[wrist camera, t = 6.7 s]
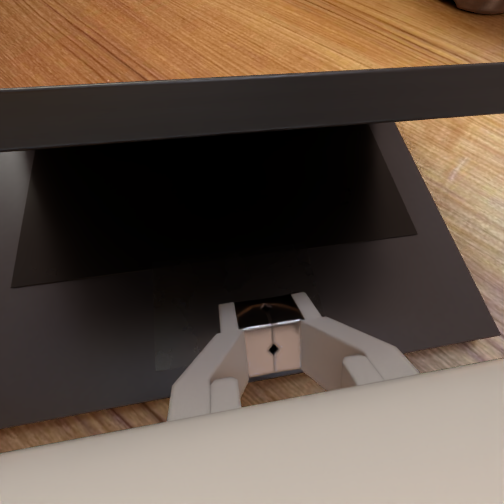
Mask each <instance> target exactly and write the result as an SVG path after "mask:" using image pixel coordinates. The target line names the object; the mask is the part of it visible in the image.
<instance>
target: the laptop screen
mask: <svg viewBox="0 0 504 504" xmlns="http://www.w3.org/2000/svg"><path fill="white" fill-rule="evenodd" d="M503 113H504V62H498V63H479V64H460V65H441V66H422V67H402V68H383V69H364V70H345V71H326V72H307V73H288V74H269V75H250V76H231V77H212V78H193V79H173V80H154V81H135V82H116V83H97V84H78V85H59V86H40V87H21V88H2V89H0V153H1V152H14V151H27V150H40V149H52V148H65V147H78V146H91V145H104V144H117V143H130V142H142V141H155V140H168V139H181V138H194V137H207V136H220V135H233V134H245V133H258V132H271V131H284V130H297V129H310V128H323V127H335V126H348V125H361V124H374V123H387V122H400V121H413V120H425V119H438V118H451V117H464V116H477V115H490V114H503Z"/></svg>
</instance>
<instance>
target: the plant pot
mask: <svg viewBox="0 0 504 504" xmlns="http://www.w3.org/2000/svg"><path fill="white" fill-rule="evenodd" d="M454 1H455V3H456V6H457V8H460V9H463V10H467V11H471V12H475V13H478V14H498V13H504V0H454Z"/></svg>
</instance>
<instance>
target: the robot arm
mask: <svg viewBox="0 0 504 504" xmlns="http://www.w3.org/2000/svg"><path fill="white" fill-rule="evenodd" d="M219 319H220V332H221V333H218V334H216V335H215V336H214V337H213V338H212V339H211V341H210V342H209V343H208V344H207V345H206V346H205V348H204V349H203V350H202V351H201V352H200V353H199V355H198V356H197V357H196V358H195V359H194V360H193V362H192V363H191V364H190V365H189V366H188V367H187V369H186V370H185V371H184V372H183V373H182V375H181V376H180V377H179V378H178V379H177V380H176V382H175V383H174V384H173V385H172V389H171V396H170V403H169V409H168V416H167V422H162V423H157V424H152V425H146V426H141V427H136V428H130V429H125V430H120V431H115V432H109V433H104V434H99V435H93V436H88V437H83V438H78V439H72V440H67V441H62V442H56V443H51V444H46V445H41V446H35V447H30V448H25V449H19V450H14V451H9V452H4V453H0V504H504V358H499V359H494V360H489V361H484V362H479V363H473V364H468V365H463V366H458V367H452V368H447V369H442V370H436V371H431V372H426V373H420V372H419V371H418V370H417V369H416V368H415V366H414V365H413V364H412V363H411V362H410V361H409V360H408V359H407V358H406V357H405V356H404V355H403V354H402V353H401V351H400V350H399V349H398V348H397V347H395V346H393V345H391V344H388V343H386V342H384V341H382V340H379V339H377V338H375V337H372V336H370V335H368V334H365V333H363V332H361V331H359V330H356V329H354V328H352V327H349V326H347V325H345V324H342V323H340V322H338V321H336V320H333V319H331V318H329V317H322V316H321V315H320V313H319V312H318V310H317V309H316V307H315V306H314V304H313V303H312V302H311V300H310V299H309V297H308V296H307V294H306V293H305V292H299V293H294V294H288V295H282V296H276V297H271V298H265V299H255V300H247V301H239V302H234V303H233V302H230V303H224V304H219ZM296 369H301V370H302V371H303V372H304V373H305V374H307V375H308V376H309V377H310V378H312V379H313V380H314V381H315V382H316V383H318V384H319V385H320V386H321V387H323V388H324V389H325V390H326V392H320V393H315V394H310V395H305V396H300V397H294V398H289V399H284V400H278V401H273V402H268V403H263V404H257V405H252V406H247V407H241V400H240V399H241V397H242V394H243V392H244V390H245V388H246V385H247V383H248V381H249V378H252V377H256V376H261V375H266V374H271V373H276V372H283V371H290V370H296Z"/></svg>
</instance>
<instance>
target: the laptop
mask: <svg viewBox="0 0 504 504" xmlns="http://www.w3.org/2000/svg"><path fill="white" fill-rule="evenodd" d="M299 292H305V293H306V294H307V296H308V297H309V299H310V300H311V302H312V303H313V304H314V306H315V307H316V309H317V310H318V312H319V313H320V315H321V316H322V317H329V318H331V319H333V320H336V321H338V322H340V323H342V324H345V325H347V326H349V327H352V328H354V329H356V330H359V331H361V332H363V333H365V334H368V335H370V336H372V337H375V338H377V339H379V340H382V341H384V342H386V343H388V344H391V345H393V346H395V347H397V348H398V349H399V350H400V351H401V353H402V354H404V353H409V352H415V351H420V350H426V349H431V348H436V347H442V346H447V345H452V344H458V343H463V342H468V341H474V340H479V339H484V338H490V337H495V336H500V335H501V334H500V332H499V330H498V328H497V326H496V324H495V322H494V320H493V318H492V316H491V314H490V312H489V310H488V308H487V306H486V304H485V302H484V300H483V298H482V296H481V294H480V292H479V290H478V288H477V286H476V284H475V282H474V280H473V278H472V276H471V274H470V272H469V270H468V268H467V266H466V264H465V262H464V260H463V258H462V256H461V254H460V252H459V250H458V248H457V246H456V244H455V242H454V240H453V238H452V236H451V234H450V232H449V230H448V228H447V226H446V224H445V222H444V220H443V218H442V216H441V214H440V212H439V210H438V208H437V206H436V204H435V202H434V200H433V198H432V196H431V194H430V192H429V190H428V188H427V186H426V184H425V182H424V180H423V178H422V176H421V174H420V172H419V170H418V168H417V166H416V164H415V162H414V160H413V158H412V156H411V154H410V152H409V150H408V148H407V146H406V144H405V142H404V140H403V138H402V136H401V134H400V132H399V130H398V128H397V126H396V124H395V122H387V123H374V124H361V125H348V126H335V127H323V128H310V129H297V130H284V131H271V132H258V133H245V134H233V135H220V136H207V137H194V138H181V139H168V140H155V141H142V142H130V143H117V144H104V145H91V146H78V147H65V148H52V149H40V150H27V151H14V152H1V153H0V429H4V428H9V427H15V426H20V425H25V424H31V423H36V422H41V421H47V420H52V419H57V418H63V417H68V416H73V415H79V414H84V413H89V412H95V411H100V410H105V409H111V408H116V407H121V406H127V405H132V404H137V403H143V402H148V401H153V400H159V399H164V398H169V397H170V396H171V389H172V385H173V384H174V383H175V382H176V380H177V379H178V378H179V377H180V376H181V375H182V373H183V372H184V371H185V370H186V369H187V367H188V366H189V365H190V364H191V363H192V362H193V360H194V359H195V358H196V357H197V356H198V355H199V353H200V352H201V351H202V350H203V349H204V348H205V346H206V345H207V344H208V343H209V342H210V341H211V339H212V338H213V337H214V336H215V335H216V334H218V333H221V332H220V319H219V304H224V303H230V302H233V303H234V302H239V301H247V300H255V299H265V298H271V297H276V296H282V295H288V294H294V293H299ZM297 373H303V371H302V370H301V369H296V370H290V371H283V372H276V373H271V374H266V375H261V376H256V377H252V378H249V381H248V383H249V382H255V381H260V380H265V379H271V378H276V377H281V376H287V375H292V374H297Z"/></svg>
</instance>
